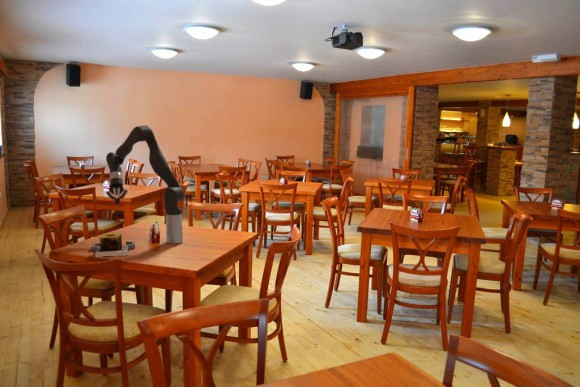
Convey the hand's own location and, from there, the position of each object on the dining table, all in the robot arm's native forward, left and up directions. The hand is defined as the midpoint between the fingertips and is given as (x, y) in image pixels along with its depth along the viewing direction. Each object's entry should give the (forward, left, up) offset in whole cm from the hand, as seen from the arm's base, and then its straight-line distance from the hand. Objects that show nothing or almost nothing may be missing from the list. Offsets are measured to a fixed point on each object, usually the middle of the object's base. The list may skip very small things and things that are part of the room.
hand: (117, 204), depth 293 cm
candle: (+2, +30, -22) cm, 37 cm away
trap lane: (+2, +27, -22) cm, 35 cm away
